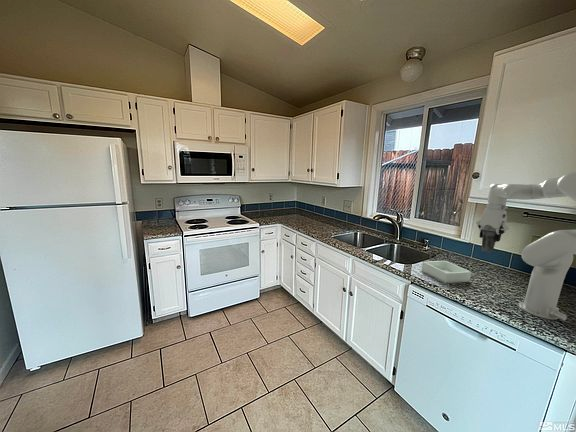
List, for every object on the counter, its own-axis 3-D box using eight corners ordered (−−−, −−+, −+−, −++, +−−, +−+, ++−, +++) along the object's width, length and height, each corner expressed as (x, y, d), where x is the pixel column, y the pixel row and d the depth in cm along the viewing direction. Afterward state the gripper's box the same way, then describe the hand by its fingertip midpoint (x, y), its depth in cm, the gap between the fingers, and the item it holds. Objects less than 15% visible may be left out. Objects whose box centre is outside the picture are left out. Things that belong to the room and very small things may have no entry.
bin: (469, 281, 133) (471, 271, 132) (445, 283, 129) (446, 273, 128) (443, 269, 149) (445, 260, 148) (421, 270, 146) (423, 261, 144)
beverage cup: (498, 253, 124) (506, 217, 121) (483, 252, 126) (490, 216, 122) (490, 249, 132) (497, 214, 128) (475, 248, 133) (482, 213, 129)
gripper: (519, 209, 117) (512, 243, 120) (484, 205, 134) (478, 235, 137) (508, 209, 115) (501, 244, 118) (473, 204, 132) (468, 235, 135)
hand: (489, 239), depth 128 cm, fingers closed on beverage cup, 6 cm apart
